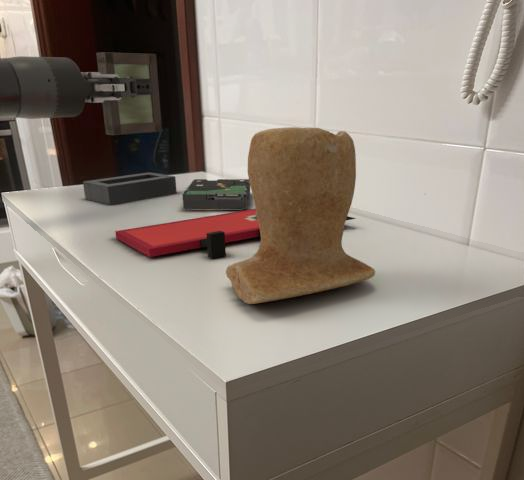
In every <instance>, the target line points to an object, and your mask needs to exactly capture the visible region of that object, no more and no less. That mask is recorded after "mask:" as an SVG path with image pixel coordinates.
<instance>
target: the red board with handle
mask: <svg viewBox="0 0 524 480" xmlns="http://www.w3.org/2000/svg"><path fill="white" fill-rule="evenodd" d="M355 219H357V218H356V217H352V216H348V215H347V218H346V221H351V220H355ZM114 233H115V239H116V240H119V241H120V242H122V243H124V244H126V245H127V246H129V247H130V248H133V249H134V250H137V251H138V252H140V253H141V254H143V255H145V256H147V257H149V258H151V257H153V258H154V257H157V256H162V255H168V254H173V253H179V252H184V251H188V250H194V249H200V248H201V249H202V248H207V257H208V258H209V259H211V260H213V259H217V258H221V257H222V258H223V257H226V256H227V251H226V249H227V248H226V243H232V242H237V241H243V240H247V239H252V238H258V237H261V235H260V228H259V223H258V218H257V212H256V208H252V209H243V210H239V211H232V212H226V213H220V214H213V215H208V216H202V217H201V216H200V217H196V218H195V217H194V218H188V219H183V220H182V219H181V220H175V221H170V222H163V223H157V224H151V225H146V226H145V225H144V226H139V227H132V228H126V229H119V230H115V231H114Z"/></svg>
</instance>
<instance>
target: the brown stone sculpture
mask: <svg viewBox="0 0 524 480" xmlns="http://www.w3.org/2000/svg"><path fill="white" fill-rule="evenodd" d="M356 157H357V154H356V146H355V143H354V140H353V138H352V136H351V135H350V134H349V133H348V132H347V131H346V130H345V131H344V130H340V131H338V132H337V133H336V134H335V133H333V132H330V131H329V130H326V129H323V128H321V127H299V126H298V127H294V126H293V127H275V128H269V129H263V130H260V131H258V132H256V133H255V134H253V136H252V137H251V139H250V144H249V148H248V155H247V176H248V177H247V178H248V179H249V183H250V191H251V194H252V198H253V202H254V203H253V204H254V209H256V212H257V218H258V223H259V228H260V235H261V236H260V241H259V242H260V243H259V247H258V249H257V252H255V253H254V254H253V255H252V256H251V257H249V258H247V259H243V260H240V261H238V262H234V263H232V264H229V265H228V266H227V267H226V270H225V274H226V277H227V278H228V280H230V283H231V287H232V289H234V292H235V293H236V295H237V297H238V298H239V299H240V300H242V302H244V303H245V304H247V305H255V304H261V303H268V302H273V301H278V300H286V299H290V298H296V297H300V296H305V295H306V296H307V295H312V294H315V293H320V292H324V291H329V290H334V289H337V288H343V287H347V286H350V285H353V284H356V283H361V282H364V281H367V280H370V279H371V278H373V277H375V273H376V270H375V268H374V267H371V266H370V265H368V264H367V263H365V262H363V261H361V260H359V259H357V258H354V257H352V256H350V255H349V254H347V253H346V252H345V250H344V248H343V245H342V244H343V243H342V241H343V235H344V230H345V225H346V222H347V220H346V218H347V216H348V215H349V212H350V210H351V207H352V203H353V199H354V195H355V194H354V193H355V189H356V181H357V158H356Z"/></svg>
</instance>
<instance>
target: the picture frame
mask: <svg viewBox="0 0 524 480" xmlns="http://www.w3.org/2000/svg"><path fill="white" fill-rule="evenodd" d="M95 54H96V62H97V72H99V73H101V74H117V75H118V76H119V77H120V78H126V77H133V78H135V79H151V80H152V86H153V93H152V94H151V95H137V96H135V97H121V99H120V100H107V101H104V102H102V103H101V104H102V111H103V121H104V128H105V131H104V132H105V135H107V136H109V135H110V136H120V135H133V134H149V133H159V132H160V133H161V132H163V127H162V116H161V103H160V102H161V101H160V90H159V79H158V77H159V76H158V63H157V54H156V53H135V52H133V53H132V52H106V51H105V52H103V51H102V52H96V53H95ZM99 79H109V80H111V79H110V78H99ZM111 82H112V81H111ZM112 94H113V93H112ZM110 96H112V95H110ZM102 97H104V96H102Z"/></svg>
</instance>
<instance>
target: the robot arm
mask: <svg viewBox="0 0 524 480" xmlns="http://www.w3.org/2000/svg"><path fill="white" fill-rule="evenodd" d="M99 78H110V79H111V80H109V79H99ZM111 81H112V82H111ZM112 93H113V94H112ZM152 93H153V86H152V80H151V79H135V78H133V77H126V78H120V77H119V76H118V75H117V74H101V73H99V71H87V72H85V71H84V72H83V71H81V69H80V68H79V66H78V65H77V63H76V62H75V61H73V59H71V58H69V57H65V56H64V57H58V56H57V57H56V56H24V55H23V56H19V55H18V56H11V57H1V58H0V119H17V118H18V119H25V120H35V119H36V120H37V119H39V120H41V119H58V118H76V117H77V116H79V115H81V113H82V112H83V110H84V109H85V108H84V107H85V103H90V104H91V103H92V104H98V103H101V104H102V102H104V101H107V100H120V99H121V97H135V96H137V95H151V94H152ZM110 95H112V96H110ZM102 96H104V97H102Z"/></svg>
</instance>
